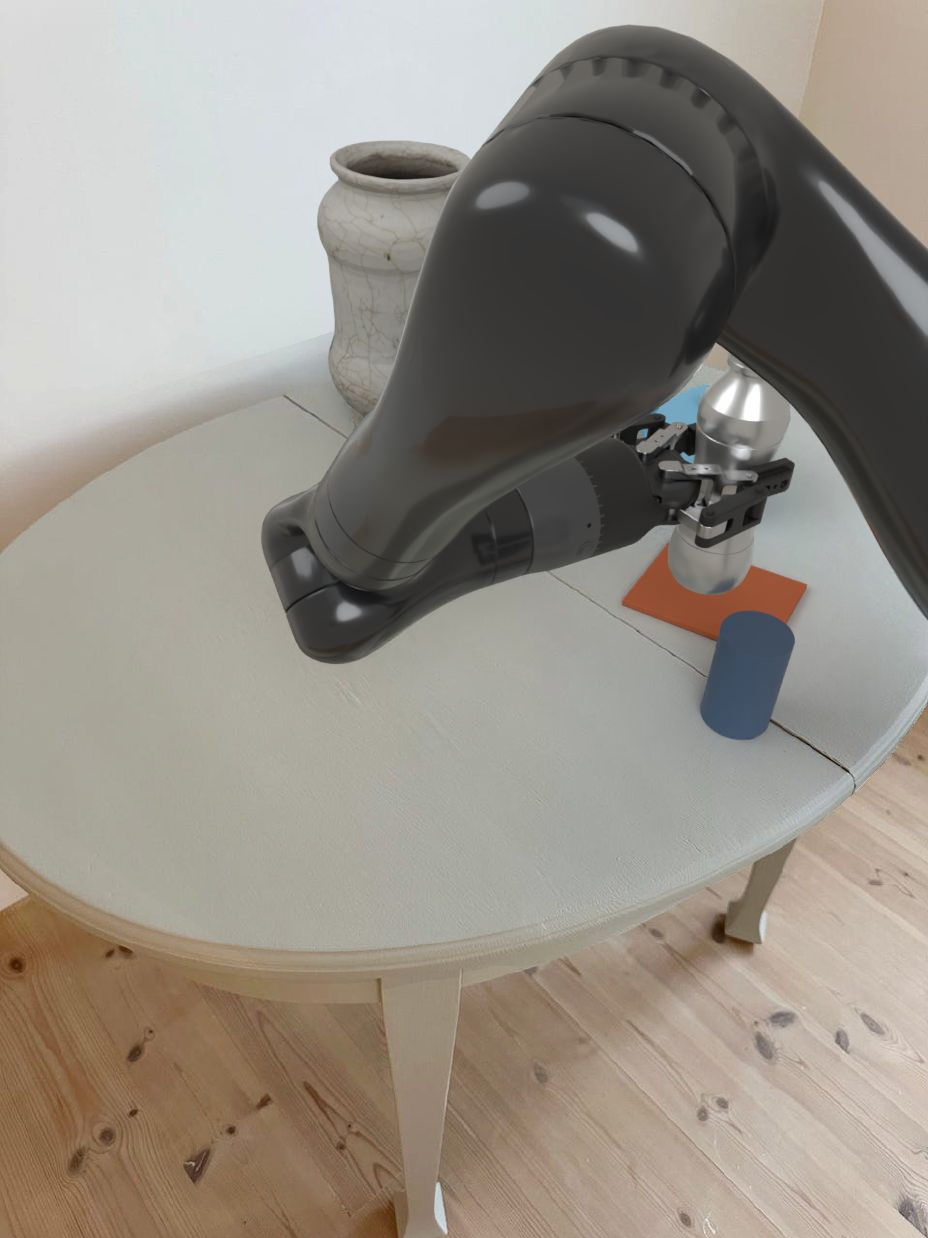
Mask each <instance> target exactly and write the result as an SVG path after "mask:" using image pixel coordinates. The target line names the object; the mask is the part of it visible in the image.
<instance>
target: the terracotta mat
mask: <svg viewBox="0 0 928 1238" xmlns="http://www.w3.org/2000/svg"><path fill="white" fill-rule="evenodd" d="M668 545H669V541H668V542H667V543H666V545H665V546H664V547H663V549H662V550H661V551H660V552H659V553H658V554H657V556H656V557H655V559H654V560H653V561H652V562H651V564H650V565H649V567H648V568H647V569H646V570H645V571H644V572H643V574H642V575H641V576H640V577H639V579H638V580H637V581H636V583H635V584H634V585H633V587H632V588H631V589H630V590H629V591H628V593H626V595H625V596H624V598H623V599H622V601H621V605H622V606H624V607H627V608H629V609H631V610H635V611H637V612H640V613H642V614H645V615H648V616H650V617H653V618H655V619H658V620H661V621H663V622H666V623H669V624H671V625H674V626H677V627H679V628H682V629H685V630H687V631H690V632H692V633H695V634H697V635H699V636H703V637H705V638H708V639H711V640H714V641H715V642H717V640H718V636H719V632H720V628H721V624H722V622H723V620H724V619H725V618H726V617H727V616H729V615H731V614H733V613H736V612H740V611H758V612H763V613H767V614H770V615H772V616H774V617H776V618H778V619H780V620H782V621H783V622H784V623H785V624H787V623H788V622H789V620H790V618H791V616H792V615H793V612H794V611H795V609H796V607H797V606H798V604H799V602H800V601H801V599H802V597H803V595H804V593H805V592H806V590H807V587H808V584H807V583H804V582H801V581H798V580H795V579H793V578H790V577H787V576H784V575H781V574H778V573H775V572H772V571H769V570H766V569H763V568H760V567H758V566H755V565H753V564H751V566H750V568H749V570H748V572H747V574H746V576H745V578H744V580H743V581H742V583H741V584H740V585H738V586H737V587H735V588H734V589H732V590H731V591H729V592H727V593H724V594H720V595H705V594H699V593H696V592H693V591H691V590H689V589H687V588H685V587H683V586H682V585H681V584H679V583H678V582H677V580H676V579H675V578H674V576H673V574H672V572H671V571H670V568H669V565H668Z"/></svg>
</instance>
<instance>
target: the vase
mask: <svg viewBox="0 0 928 1238" xmlns="http://www.w3.org/2000/svg"><path fill="white" fill-rule="evenodd" d="M471 159H472V158H470V157H469V156H468V155H467V154H465V153H464V152H462V151H460V150H459V149H457V148H453V147H449V146H446V145H442V144H436V143H430V142H421V141H414V140H375V141H374V140H373V141H372V140H371V141H361V142H356V143H352V144H348V145H344V146H343V147H340V148H338V149H336V150H335V151H334V152H333V153H331V155H330V156H329V166H330V170H331V171H332V173H334V175H335V176H336V177H337V178H338V179H337V181H335V182H334V183H333V184H332V185H331V187H329V188H328V190H327V191H326V192H325V194H324V195H323V197H322V199H321V201H320V203H319V205H318V210H317V216H316V217H317V218H316V219H317V220H316V223H317V226H316V227H317V231H318V236H319V240H320V243H321V245H322V247H323V250H324V251H325V253H326V256H327V263H328V270H329V271H328V273H329V281H330V282H329V283H330V290H331V297H332V304H333V316H334V317H333V319H334V334H333V336H332V340H331V343H330V346H329V350H328V358H327V359H328V363H327V365H328V370H329V373H330V377H331V381H332V382H333V384H334V387H335V389H336V391H337V392H338V393H339V395H340V396H341V398H342V399H343V400H344V402H345V403H346V404H347V405H348V406H349V407H350V408H352V409H353V410H352V413H351V414H352V416H351V418H352V422H353V424H354V426H355V427H356V426H357V425H358V424H359V423H360V422H361V421H362V419H363V418H364V417H365V416H366V415H367V414H368V413H369V412H370V411H371V410H372V409H373V408H374V406H375V405H376V403H377V401H378V399H379V397H380V395H381V393H382V391H383V389H384V386H385V384H386V382H387V379H388V377H389V374H390V371H391V369H392V366H393V363H394V361H395V358H396V354H397V351H398V347H399V344H400V341H401V337H402V333H403V330H404V326H405V322H406V319H407V315H408V311H409V308H410V304H411V301H412V297H413V294H414V291H415V287H416V284H417V281H418V277H419V274H420V271H421V268H422V264H423V261H424V258H425V254H426V251H427V248H428V244H429V241H430V238H431V235H432V232H433V229H434V226H435V223H436V221H437V218H438V215H439V213H440V210H441V208H442V205H443V203H444V201H445V199H446V197H447V194H448V192H449V191H450V189H451V187H452V185H453V184H454V183H455V181H456V180H457V178H458V177H459V176H460V174H461V173H462V171H463V170H464V169H465V167H466V166H467V165H468V163H469V162H470V160H471Z"/></svg>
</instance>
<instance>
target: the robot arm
mask: <svg viewBox="0 0 928 1238" xmlns="http://www.w3.org/2000/svg"><path fill="white" fill-rule="evenodd" d="M470 159H471V160H470V162H469V163H468V165H467V166H466V167H465V169H464V170H463V171H462V173H461V174H460V176H459V177H458V178H457V180H456V181H455V183H454V184H453V185H452V187H451V189H450V191H449V192H448V194H447V197H446V199H445V201H444V203H443V205H442V208H441V210H440V213H439V215H438V218H437V221H436V223H435V226H434V229H433V232H432V235H431V238H430V241H429V244H428V248H427V251H426V254H425V258H424V261H423V264H422V268H421V271H420V274H419V277H418V281H417V284H416V287H415V291H414V294H413V297H412V301H411V304H410V308H409V311H408V315H407V319H406V322H405V326H404V330H403V333H402V337H401V341H400V344H399V347H398V351H397V354H396V358H395V361H394V363H393V366H392V369H391V371H390V374H389V377H388V379H387V382H386V384H385V386H384V389H383V391H382V393H381V395H380V397H379V399H378V401H377V403H376V405H375V406H374V408H373V409H372V410H371V411H370V412H369V413H368V414H367V415H366V416H365V417H364V418H363V419H362V421H361V422H360V423H359V424H358V425H357V426H355V427H354V429H353V430H352V432H351V433H350V434H349V436H348V437H347V439H346V440H345V442H344V443H343V445H342V446H341V447H340V449H339V450H338V452H337V454H336V455H335V457H334V459H333V461H332V462H331V464H330V466H329V467H328V469H327V470H326V472H325V473H324V476H323V477H322V478H321V480H320V481H318V483H316V484H314V485H313V486H311V487H310V488H307V490H304V491H301V492H298V493H296V494H293V495H290V496H289V497H287V498H285V499H283V500H281V501H280V502H278V503H277V504H275V505H274V506H273V507H272V508H270V510H269V511H268V512H267V513H266V514H265V516H264V519H263V521H262V525H261V531H260V532H261V533H260V541H261V543H260V544H261V548H262V553H263V557H264V560H265V562H266V563H265V564H266V566H267V567H268V571H269V573H270V576H271V579H272V581H273V584H274V587H275V589H276V592H277V595H278V597H279V600H280V603H281V606H282V607H283V611H284V614H285V617H286V620H287V622H288V625H289V628H290V631H291V634H292V636H293V638H294V641H295V644H297V646H298V648H299V650H300V651H301V652H302V653H303V655H304V656H307V657H308V658H310V659H312V660H314V661H317V662H318V663H319V662H320V663H323V664H330V665H343V664H349V663H354V662H357V661H360V660H362V659H364V658H366V657H368V656H369V655H371V654H373V653H375V652H376V651H378V650H379V649H381V648H382V647H384V646H385V645H387V644H388V643H390V642H391V641H392V640H394V639H395V638H396V637H398V636H399V635H401V634H402V633H403V632H404V631H406V630H407V629H410V627H411V626H413V625H414V624H416V623H417V622H419V621H420V620H422V619H423V618H425V617H427V616H428V615H430V614H431V613H433V612H435V611H436V610H438V609H440V608H441V607H444V606H445V605H447V604H449V603H452V602H453V601H455V600H457V599H459V598H461V597H463V596H466V595H468V594H471V593H474V592H476V591H479V590H482V589H485V588H489V587H492V586H495V585H498V584H501V583H503V582H507V581H510V580H514V579H517V578H519V577H522V576H523V577H524V576H526V575H532V574H537V573H544V572H550V571H553V570H556V569H560V568H563V567H567V566H569V565H573V564H576V563H578V562H582V561H585V560H589V559H591V558H595V557H597V556H601V555H604V554H607V553H610V552H613V551H616V550H619V549H622V548H626V547H628V546H632V545H634V544H637V542H639V541H640V540H642V538H644V537H645V536H646V535H647V534H648V533H649V532H650V531H651V530H653V529H654V528H655V527H659V526H676V525H678V524H681V523H682V524H683V525H685V526H686V527H688V528H690V529H691V530H693V531H694V532H696V536H695V541H694V543H695V545H697V546H698V547H700V548H710V547H712V546H714V545H716V544H718V543H721V542H723V541H725V540H727V539H729V538H731V537H733V536H735V535H737V534H739V533H741V532H743V531H746V530H748V529H750V528H752V527H754V526H755V527H756V526H758V525H760V524H761V523H762V519H763V516H764V512H765V509H766V504H767V500H768V498H769V497H772V496H775V495H778V494H781V493H785V492H786V491H787V490H788V489H789V488H790V485H791V481H792V478H793V474H794V470H795V466H796V464H795V462H793V460H791V459H789V458H788V457H782V458H779V459H776V460H775V459H774V460H773V461H772V462H769V463H765V464H762V465H759V466H755V467H752V468H749V470H723V469H722V467H721V466H720V465H719V464H692V463H690V462H688V461H686V460H684V459H683V457H682V454H683V452H684V453H685V454H686V455H688V456H692V455H695V440H696V423H693V424H689V425H686V424H685V423H682V422H674V423H672V424H669V423H666V422H665V420H666V417H665V416H664V415H663V414H659V413H653V414H650V413H652V412H653V411H655V410H656V409H658V408H660V407H662V406H663V405H664V404H665V403H667V402H668V401H669V400H671V399H672V398H674V397H675V396H677V395H678V394H679V393H680V392H681V391H682V390H683V389H684V388H685V387H686V385H687V384H688V383H689V382H690V381H691V380H692V379H693V378H694V377H695V376H696V374H697V373H698V372H699V370H700V369H701V368H702V366H703V365H704V363H706V361H707V359H708V357H709V356H710V354H711V352H712V351H713V349H714V346H715V345H716V344H717V345H718V346H720V347H721V348H722V349H724V350H725V351H727V353H728V354H729V353H730V354H732V355H733V356H734V357H736V358H737V359H738V360H739V361H741V362H742V363H743V364H744V365H746V366H747V367H748V368H749V369H751V370H752V371H753V372H754V373H756V374H757V375H758V376H760V377H761V378H762V379H763V380H765V381H766V382H767V383H768V384H770V385H771V386H772V387H773V388H774V389H775V390H776V391H777V392H778V393H779V394H780V395H782V396H783V397H784V398H785V399H786V400H787V401H788V402H789V403H790V406H791V407H792V408H793V409H794V410H795V411H796V412H797V413H798V414H799V415H800V417H801V418H802V419H803V420H804V422H806V423H807V425H808V426H809V428H810V429H811V431H812V432H813V433H814V435H815V436H816V438H818V440H819V442H820V443H821V445H822V446H823V447H824V449H825V450H826V452H827V454H828V456H829V458H830V459H831V461H832V462H833V464H834V466H835V467H836V470H837V471H838V472H839V474H840V476H841V478H842V480H843V481H844V483H845V485H846V487H847V489H848V490H849V493H850V495H851V496H852V498H853V499H854V502H855V503H856V505H857V507H858V509H859V511H860V512H861V515H862V517H863V518H864V520H865V522H866V524H867V525H868V527H869V530H870V531H871V533H872V535H873V537H874V539H875V541H876V542H877V544H878V546H879V548H880V551H881V552H882V554H883V556H884V558H885V559H886V560H887V562H888V564H889V566H890V568H891V569H892V570H893V573H894V574H895V576H896V577H897V579H898V581H899V583H900V584H901V587H903V590H905V592H906V593H907V595H908V597H909V598H910V599H911V601H912V602H913V604H914V605H915V606H916V608H917V610H918V611H919V612H920V613H921V614H922V616H923V617H924V618H925V619H926V620H927V621H928V247H927V246H926V245H925V244H924V243H923V242H921V240H919V239H918V238H917V237H916V236H915V235H914V233H912V232H911V231H910V230H909V228H907V227H906V226H905V225H904V224H903V223H902V222H901V221H900V220H899V219H898V218H897V217H896V216H895V215H894V214H893V213H892V212H891V211H890V210H889V209H888V208H887V207H886V206H885V205H884V204H883V203H882V202H881V201H880V200H879V199H878V198H877V197H876V196H875V194H873V193H872V192H871V191H870V190H869V189H868V188H867V187H866V186H865V185H864V184H863V183H862V182H861V180H859V178H857V176H856V175H854V174H853V173H852V172H851V171H850V169H848V167H847V166H845V165H844V163H842V162H841V161H840V160H839V158H838V157H837V156H835V155H834V154H833V153H832V151H830V149H828V147H827V146H826V145H825V144H824V143H822V141H821V140H820V139H819V138H818V137H817V136H816V135H815V134H814V133H813V132H812V131H811V130H810V129H809V128H808V127H806V125H805V124H803V122H802V121H801V120H800V119H799V118H798V117H797V116H796V115H795V114H794V113H792V111H790V110H789V109H788V108H787V106H786V105H784V104H783V103H782V102H781V101H780V100H779V99H778V98H777V97H776V96H775V95H774V94H773V93H772V92H770V90H769V89H767V88H766V87H765V85H763V84H762V83H761V82H760V81H759V80H758V79H756V78H755V77H754V76H753V75H751V74H750V73H749V72H748V71H747V70H745V69H744V68H743V67H741V65H739V64H738V63H736V62H734V60H732V59H730V58H729V57H727V56H726V55H724V54H722V53H720V52H719V51H717V50H716V49H713V48H712V47H710V46H709V45H708V44H706V43H703V42H702V41H700V40H698V39H696V38H694V37H692V36H689V35H686V34H683V33H680V32H678V31H677V32H676V31H673V30H670V29H667V28H665V27H660V26H653V25H639V24H621V25H615V26H608V27H604V28H600V29H597V30H594V31H591V32H589V33H586V34H585V35H582V36H581V37H578V38H577V39H575V40H574V41H572V42H571V43H570V44H567V46H565V48H563V49H562V50H560V51H559V52H558V53H557V54H556V55H554V57H553V58H552V59H551V60H549V62H548V63H547V64H546V65H545V66H544V67H543V68H541V70H540V72H539V73H538V74H537V75H536V76H535V78H534V79H533V80H532V81H531V82H530V84H528V86H527V87H526V89H525V90H524V91H523V93H522V94H521V95H520V96H519V97H518V99H517V101H516V102H515V103H514V104H513V105H512V107H511V108H510V109H509V110H508V112H507V113H506V115H504V117H503V118H502V119H501V120H500V122H499V123H498V125H497V126H495V128H494V129H493V130H492V132H491V133H490V134H489V136H488V137H487V138H486V140H485V141H484V142H483V144H482V145H480V147H479V149H478V150H477V151H476V152H475V153H474V155H473V156H472V158H470ZM643 429H648V431H647V437H645V438H643V437H639V438H638V435H639V432H641V430H643ZM702 480H708V484H707V489H706V493H705V496H704V497H703V498H702V499H700V500H697V499H698V497H699V493H700V488H701V484H702ZM727 485H737V489H736V493H735V494H729V495H722V491H723V488H724V487H725V486H727Z"/></svg>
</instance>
